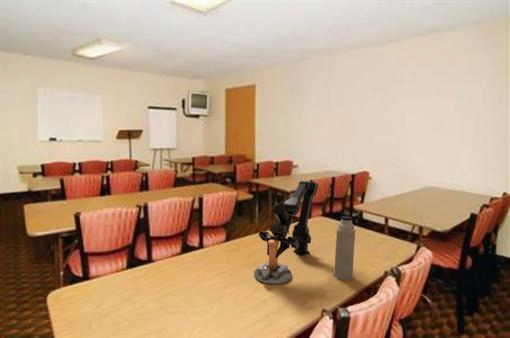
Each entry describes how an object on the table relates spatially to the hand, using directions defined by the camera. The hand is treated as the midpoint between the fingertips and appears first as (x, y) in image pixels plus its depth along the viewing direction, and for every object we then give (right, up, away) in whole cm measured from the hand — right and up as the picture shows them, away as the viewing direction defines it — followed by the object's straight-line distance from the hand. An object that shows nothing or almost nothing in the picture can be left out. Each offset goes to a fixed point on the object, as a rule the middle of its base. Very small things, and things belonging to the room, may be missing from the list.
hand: (272, 256), depth 144 cm
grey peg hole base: (0, -9, +2) cm, 10 cm away
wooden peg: (+1, -6, +2) cm, 7 cm away
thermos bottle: (+33, -10, +3) cm, 34 cm away
